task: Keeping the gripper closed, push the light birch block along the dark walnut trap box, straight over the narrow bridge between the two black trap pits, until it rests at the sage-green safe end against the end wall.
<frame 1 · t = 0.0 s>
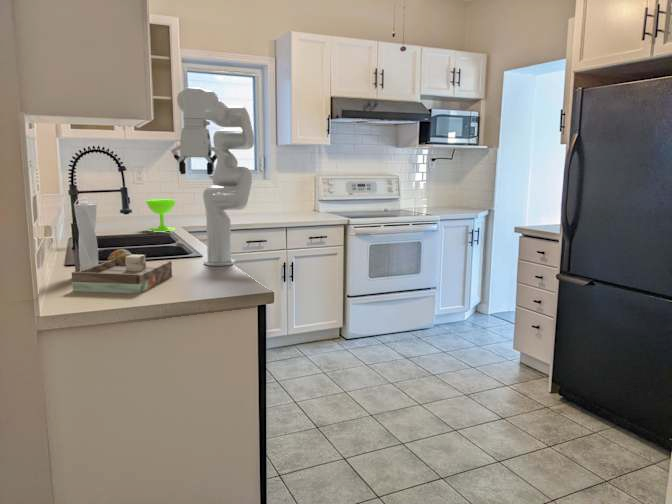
hand: (196, 174, 187), 37 cm above the countertop, tool pointing down, fingers open, 9 cm apart
bread roll: (120, 265, 212), on the countertop
trap box: (125, 283, 180), on the countertop
wineglass: (162, 231, 314), on the countertop
birch block: (136, 269, 188), point 3 cm above the countertop, touching trap box
skyscraper: (88, 275, 193), on the countertop
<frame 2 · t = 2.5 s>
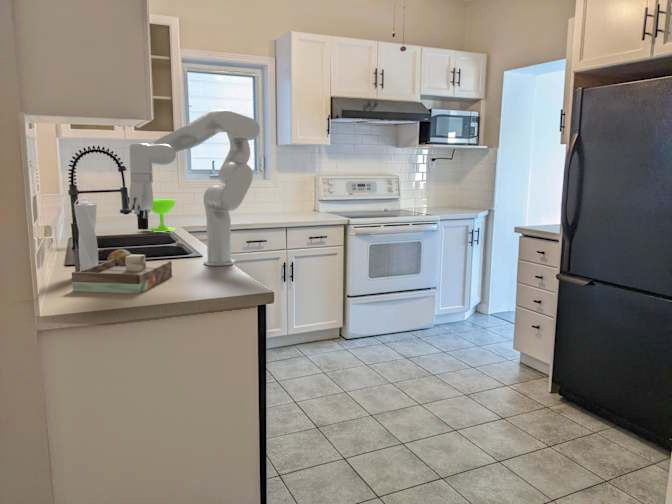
hand: (143, 229, 193), 17 cm above the countertop, tool pointing down, fingers closed
nothing on the countertop moved.
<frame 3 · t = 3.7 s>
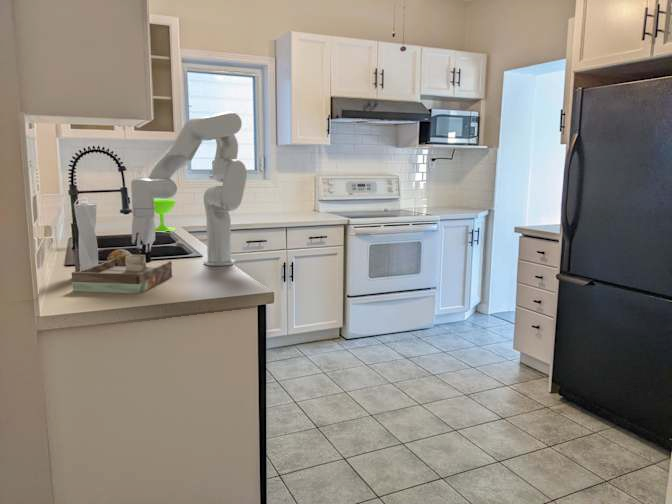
hand: (145, 262, 195), 4 cm above the countertop, tool pointing down, fingers closed
nothing on the countertop moved.
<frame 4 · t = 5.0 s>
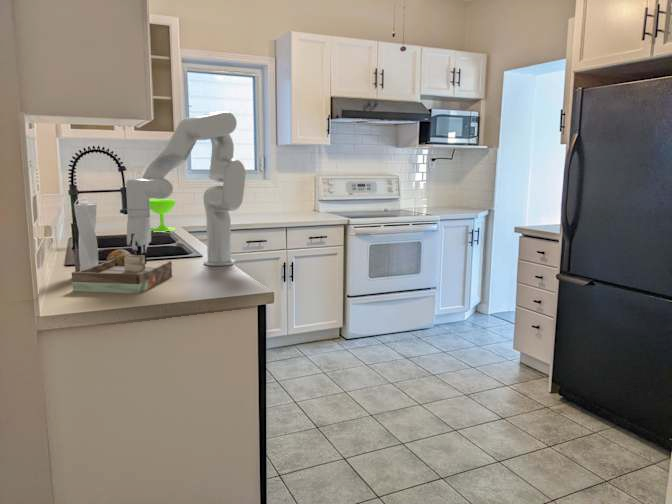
hand: (141, 264, 192), 4 cm above the countertop, tool pointing down, fingers closed
birch block: (135, 270, 187), point 3 cm above the countertop, touching gripper
everything else where it was.
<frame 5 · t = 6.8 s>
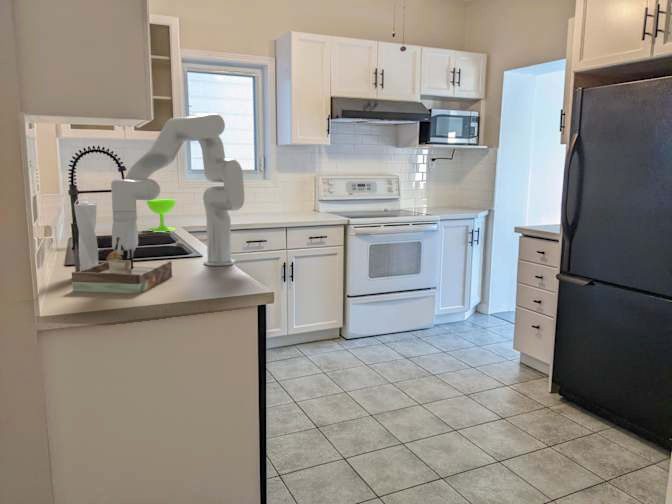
hand: (127, 269, 182), 4 cm above the countertop, tool pointing down, fingers closed
birch block: (120, 276, 177), point 3 cm above the countertop, touching gripper
everything else where it was.
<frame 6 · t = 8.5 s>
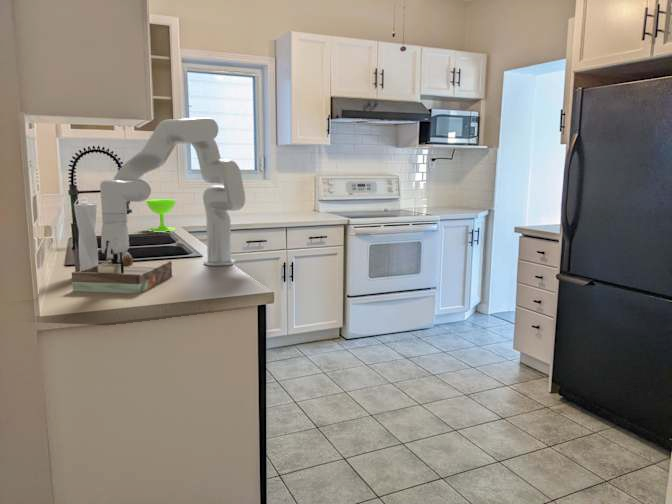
hand: (118, 273, 175), 4 cm above the countertop, tool pointing down, fingers closed
birch block: (110, 280, 171), point 3 cm above the countertop, touching gripper, trap box
everything else where it was.
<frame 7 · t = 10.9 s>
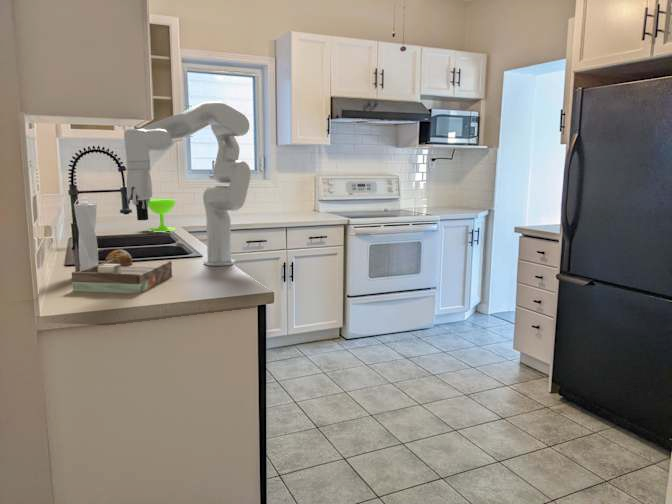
hand: (142, 219, 183), 21 cm above the countertop, tool pointing down, fingers closed
birch block: (110, 280, 171), point 3 cm above the countertop, touching trap box
everything else where it was.
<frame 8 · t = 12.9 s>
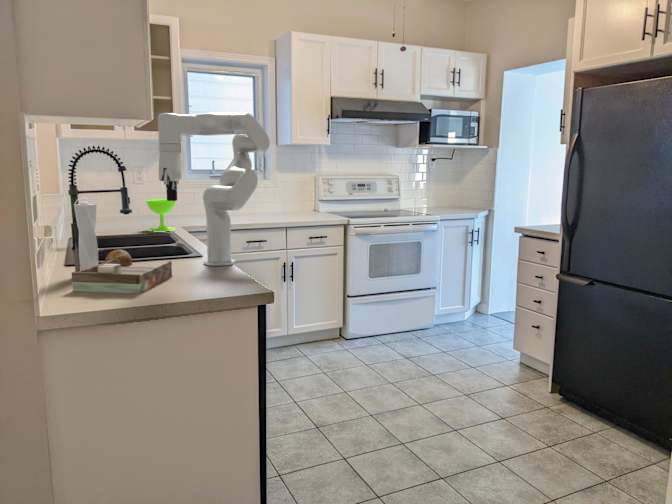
hand: (172, 200, 192), 27 cm above the countertop, tool pointing down, fingers closed
at the end: birch block 0.8 cm from the target spot on the trap box, point 3.0 cm above the trap box's base; birch block tilted 0° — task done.
